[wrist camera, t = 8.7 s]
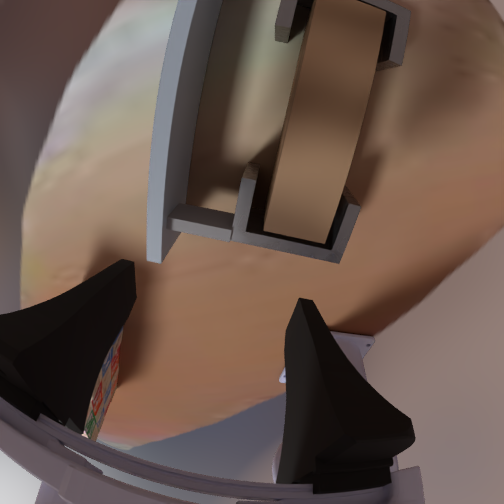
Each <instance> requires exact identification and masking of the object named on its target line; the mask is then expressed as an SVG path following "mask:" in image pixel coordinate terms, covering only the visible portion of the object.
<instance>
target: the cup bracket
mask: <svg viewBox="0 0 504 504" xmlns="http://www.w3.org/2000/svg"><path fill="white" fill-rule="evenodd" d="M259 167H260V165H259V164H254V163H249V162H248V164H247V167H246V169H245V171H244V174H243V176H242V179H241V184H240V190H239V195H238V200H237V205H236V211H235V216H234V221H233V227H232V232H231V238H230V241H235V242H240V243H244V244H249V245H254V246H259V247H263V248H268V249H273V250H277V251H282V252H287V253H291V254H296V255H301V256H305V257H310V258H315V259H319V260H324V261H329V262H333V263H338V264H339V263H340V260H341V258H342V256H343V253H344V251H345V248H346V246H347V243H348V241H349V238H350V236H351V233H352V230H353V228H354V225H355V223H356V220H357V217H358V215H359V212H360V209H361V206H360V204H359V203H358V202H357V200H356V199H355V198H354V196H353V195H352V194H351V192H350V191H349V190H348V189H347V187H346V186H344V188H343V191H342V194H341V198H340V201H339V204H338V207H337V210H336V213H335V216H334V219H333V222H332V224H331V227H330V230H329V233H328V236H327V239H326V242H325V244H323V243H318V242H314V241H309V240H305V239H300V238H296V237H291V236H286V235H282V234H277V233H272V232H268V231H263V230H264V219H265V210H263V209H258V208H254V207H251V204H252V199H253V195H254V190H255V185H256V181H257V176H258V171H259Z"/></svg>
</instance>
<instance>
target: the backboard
mask: <svg viewBox="0 0 504 504" xmlns="http://www.w3.org/2000/svg"><path fill="white" fill-rule="evenodd" d="M222 1H223V0H178V4H177V7H176V11H175V14H174V18H173V22H172V26H171V30H170V34H169V39H168V43H167V48H166V52H165V57H164V62H163V67H162V72H161V78H160V84H159V90H158V96H157V103H156V110H155V117H154V125H153V134H152V144H151V154H150V167H149V181H148V201H147V261H151V262H156V263H160V264H161V263H162V262H163V260H164V258H165V257H166V255H167V254H168V252H169V250H170V249H171V247H172V246H173V244H174V242H175V241H176V239H177V238H178V236H179V235H180V233H181V232H184V233H189V234H193V235H198V236H203V237H208V238H213V239H217V240H222V241H227V242H230V238H231V232H232V227H233V221H234V216H235V214H233V213H228V212H223V211H218V210H213V209H208V208H203V207H198V206H193V205H187V204H186V196H187V187H188V178H189V170H190V163H191V155H192V148H193V141H194V135H195V128H196V122H197V116H198V110H199V104H200V99H201V93H202V88H203V83H204V78H205V73H206V68H207V63H208V58H209V54H210V49H211V45H212V41H213V36H214V32H215V28H216V24H217V20H218V16H219V12H220V9H221V5H222Z"/></svg>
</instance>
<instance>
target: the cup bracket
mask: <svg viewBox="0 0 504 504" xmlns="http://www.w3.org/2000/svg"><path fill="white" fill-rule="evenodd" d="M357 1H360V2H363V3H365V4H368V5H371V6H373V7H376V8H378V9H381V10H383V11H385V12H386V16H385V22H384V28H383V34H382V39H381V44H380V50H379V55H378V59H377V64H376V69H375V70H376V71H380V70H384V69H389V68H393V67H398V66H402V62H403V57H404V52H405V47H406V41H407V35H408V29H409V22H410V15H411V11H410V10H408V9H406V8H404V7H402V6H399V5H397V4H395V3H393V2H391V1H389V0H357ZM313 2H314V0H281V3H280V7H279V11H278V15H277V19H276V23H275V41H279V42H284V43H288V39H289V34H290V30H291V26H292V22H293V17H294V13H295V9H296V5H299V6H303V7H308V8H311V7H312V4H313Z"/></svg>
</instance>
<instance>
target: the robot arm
mask: <svg viewBox="0 0 504 504" xmlns="http://www.w3.org/2000/svg"><path fill="white" fill-rule="evenodd" d="M136 298H137V295H136V283H135V267H134V262H132V261H128V260H124V259H121V260H119V261H118V262H116V263H114V264H112V265H111V266H109V267H108V268H106V269H104V270H103V271H101V272H99V273H98V274H96V275H95V276H93V277H91V278H90V279H88V280H86V281H85V282H83V283H81V284H79V285H77V286H76V287H74V288H72V289H70V290H69V291H67V292H65V293H63V294H61V295H59V296H56V297H54V298H52V299H50V300H47V301H45V302H42V303H40V304H37V305H34V306H32V307H29V308H26V309H22V310H19V311H15V312H12V313H7V314H2V315H0V450H1V451H2V452H4V453H5V454H6V455H7V456H8V457H10V458H11V459H12V460H13V461H14V462H16V463H17V464H19V465H20V466H21V467H22V468H24V469H25V470H26V471H28V472H29V473H30V474H32V475H33V476H35V477H36V478H38V479H39V480H41V481H42V483H41V486H40V489H39V492H38V495H37V499H36V502H35V504H197V503H193V502H188V501H184V500H180V499H176V498H172V497H168V496H165V495H161V494H158V493H154V492H151V491H148V490H144V489H141V488H138V487H135V486H132V485H129V484H126V483H124V482H121V481H118V480H115V479H113V478H110V477H108V476H105V475H103V472H102V471H101V470H100V469H98V468H97V467H95V466H93V465H92V464H91V463H89V462H88V461H87V460H86V459H85V458H83V457H82V456H80V455H78V454H76V453H75V452H73V451H71V450H69V449H68V448H66V447H65V446H67V447H69V448H71V449H73V450H75V451H77V452H79V453H81V454H83V455H85V456H87V457H89V458H91V459H94V460H96V461H98V462H100V463H103V464H105V465H108V466H110V467H113V468H116V469H118V470H121V471H123V472H126V473H129V474H131V475H134V476H137V477H141V478H143V479H147V480H150V481H153V482H157V483H160V484H164V485H167V486H171V487H176V488H179V489H184V490H188V491H193V492H199V493H203V494H209V495H215V496H222V497H230V498H237V499H247V500H261V501H238V502H236V504H425V500H424V492H423V484H422V478H421V472H420V467H419V466H415V467H411V468H406V469H402V470H399V469H398V460H397V455H398V454H399V453H401V452H403V451H404V450H406V449H407V448H409V447H410V446H411V445H412V444H413V443H414V442H415V434H414V430H413V425H412V421H411V419H410V418H409V417H408V416H406V415H405V414H403V413H402V412H401V411H399V410H398V409H397V408H395V407H394V406H393V405H392V404H390V403H389V402H388V401H387V400H386V399H384V398H383V397H382V396H381V395H380V394H379V393H378V392H377V391H376V390H375V389H374V388H373V387H372V386H371V385H370V384H369V383H368V382H367V378H366V374H365V369H364V365H363V360H362V359H363V358H364V356H365V355H366V354H367V352H368V351H369V350H370V348H371V346H372V345H373V344H374V342H375V338H374V337H372V336H363V335H355V334H347V333H340V332H332V331H330V330H329V329H328V327H327V325H326V323H325V322H324V320H323V318H322V316H321V314H320V312H319V311H318V309H317V307H316V305H315V303H314V302H313V300H309V299H303V298H299V299H298V302H297V304H296V307H295V309H294V312H293V314H292V317H291V319H290V321H289V324H288V326H287V329H286V335H285V348H284V355H285V368H284V370H283V372H282V374H281V376H280V377H279V381H280V382H282V383H286V414H285V425H284V434H283V442H282V443H281V444H280V446H279V447H278V449H277V451H276V453H275V455H274V459H273V464H272V474H273V480H274V483H259V482H248V481H239V480H231V479H224V478H218V477H212V476H206V475H201V474H196V473H191V472H187V471H182V470H179V469H174V468H170V467H167V466H163V465H160V464H156V463H153V462H149V461H146V460H143V459H140V458H137V457H134V456H131V455H128V454H126V453H123V452H120V451H117V450H115V449H112V448H110V447H107V446H105V445H102V444H100V443H98V442H95V441H93V440H91V439H89V438H87V437H84V436H82V434H84V428H85V423H86V418H87V413H88V409H89V405H90V401H91V398H92V394H93V391H94V388H95V385H96V382H97V379H98V376H99V373H100V371H101V368H102V365H103V363H104V360H105V358H106V356H107V354H108V352H109V350H110V348H111V347H112V345H113V343H114V341H115V339H116V338H117V336H118V334H119V332H120V331H121V329H122V327H123V325H124V324H125V322H126V320H127V318H128V317H129V315H130V312H131V310H132V308H133V305H134V303H135V300H136ZM64 445H65V446H64Z"/></svg>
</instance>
